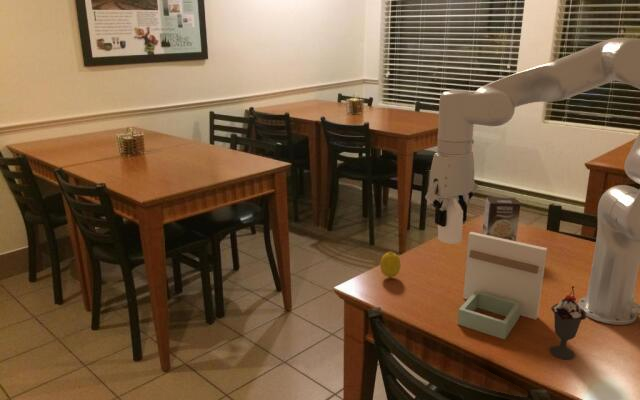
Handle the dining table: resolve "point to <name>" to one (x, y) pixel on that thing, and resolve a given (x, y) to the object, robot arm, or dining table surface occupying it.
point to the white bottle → (452, 223)
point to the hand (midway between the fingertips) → (450, 221)
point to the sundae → (566, 325)
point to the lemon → (390, 264)
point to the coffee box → (501, 217)
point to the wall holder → (501, 283)
